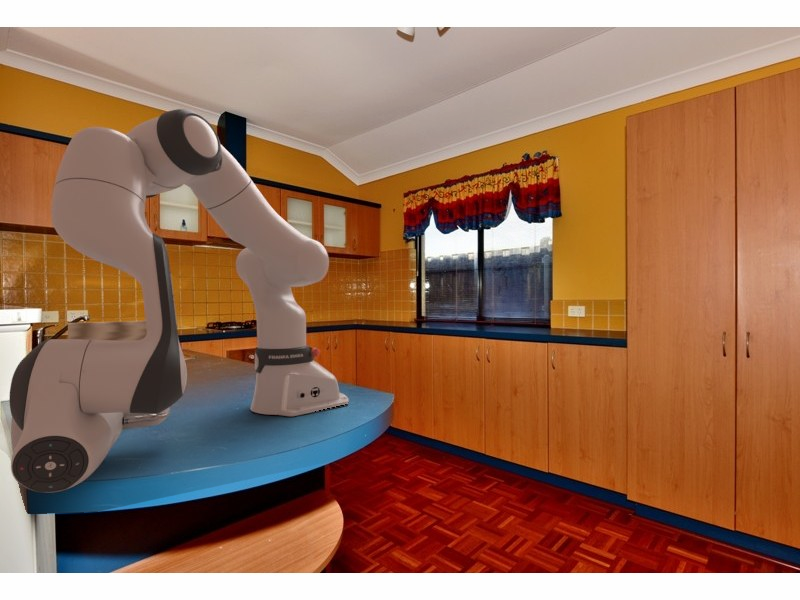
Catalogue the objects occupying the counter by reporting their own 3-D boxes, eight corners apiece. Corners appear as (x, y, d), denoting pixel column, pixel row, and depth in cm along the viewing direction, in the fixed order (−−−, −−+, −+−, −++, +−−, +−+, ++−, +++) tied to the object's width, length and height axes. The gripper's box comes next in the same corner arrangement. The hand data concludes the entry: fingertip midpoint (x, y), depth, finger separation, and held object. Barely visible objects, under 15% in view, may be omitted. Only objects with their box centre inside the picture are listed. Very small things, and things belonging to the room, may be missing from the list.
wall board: (169, 397, 107) (168, 320, 106) (169, 399, 105) (168, 320, 105) (70, 408, 97) (69, 323, 96) (69, 410, 95) (67, 323, 95)
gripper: (167, 396, 66) (173, 380, 78) (-3, 413, 57) (35, 392, 70) (167, 436, 66) (174, 414, 78) (-2, 459, 57) (36, 429, 70)
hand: (107, 403), depth 74 cm, fingers open, 8 cm apart
